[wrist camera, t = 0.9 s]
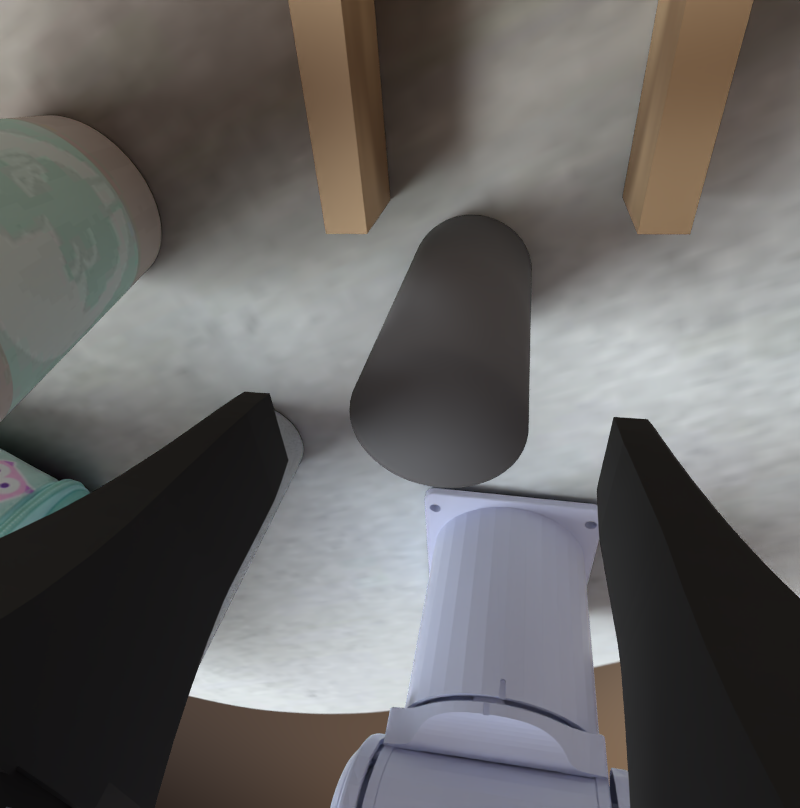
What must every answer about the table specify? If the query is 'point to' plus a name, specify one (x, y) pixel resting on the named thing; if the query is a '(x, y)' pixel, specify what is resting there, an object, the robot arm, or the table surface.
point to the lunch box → (31, 493)
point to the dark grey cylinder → (452, 360)
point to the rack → (653, 137)
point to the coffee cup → (64, 241)
